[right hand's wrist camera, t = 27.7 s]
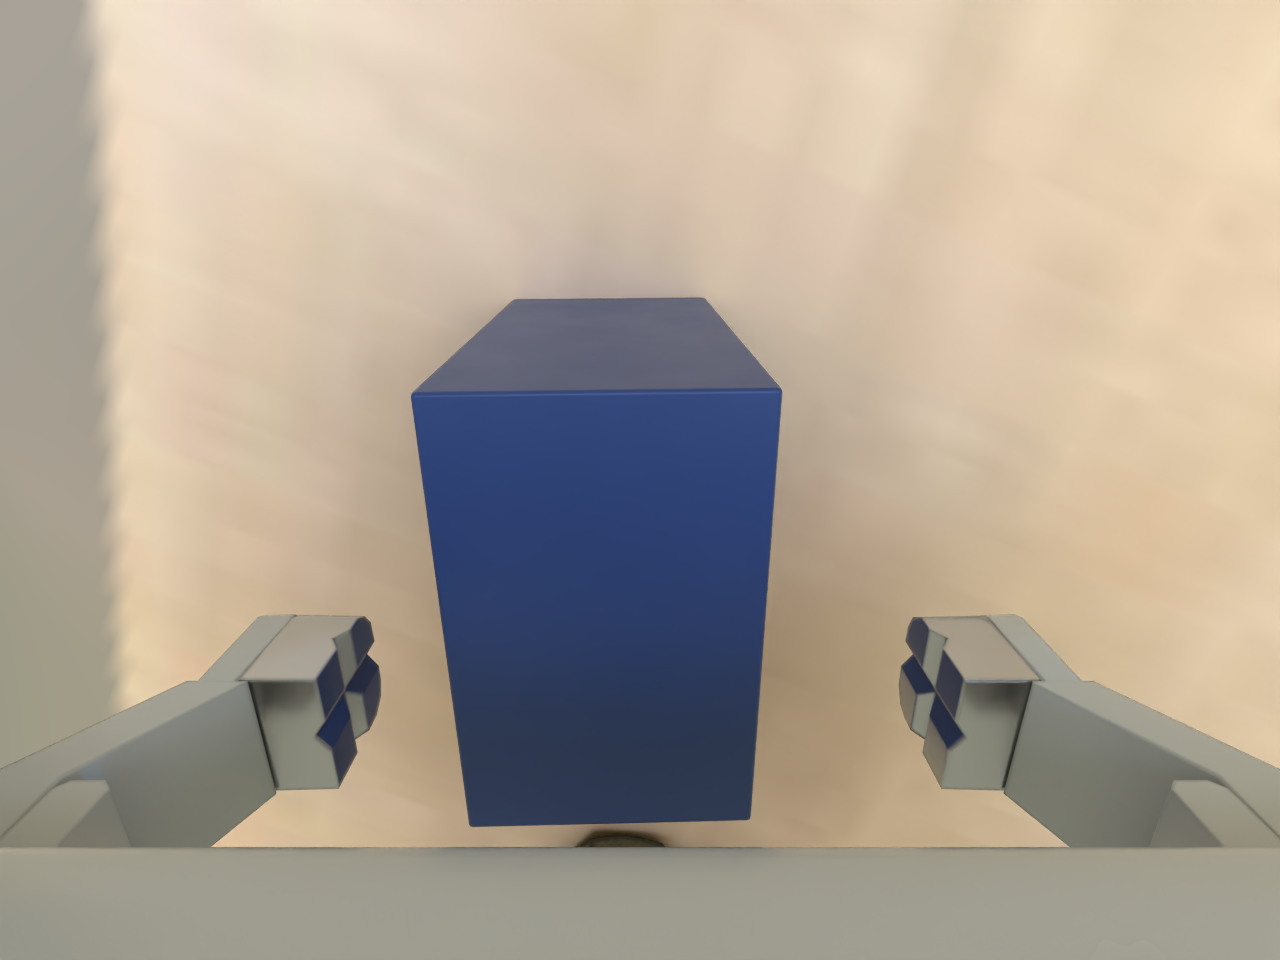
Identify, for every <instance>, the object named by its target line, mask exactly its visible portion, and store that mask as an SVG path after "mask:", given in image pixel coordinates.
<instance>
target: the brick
mask: <svg viewBox="0 0 1280 960" xmlns="http://www.w3.org/2000/svg"><path fill="white" fill-rule="evenodd" d="M411 401H412V408H413V415H414V423H415V430H416V437H417V445H418V452H419V459H420V467H421V474H422V481H423V489H424V496H425V503H426V511H427V518H428V525H429V533H430V540H431V547H432V555H433V562H434V569H435V577H436V584H437V591H438V599H439V606H440V613H441V621H442V628H443V635H444V643H445V650H446V657H447V665H448V672H449V679H450V687H451V694H452V701H453V709H454V716H455V723H456V731H457V738H458V745H459V753H460V760H461V767H462V775H463V782H464V789H465V797H466V804H467V811H468V819H469V825H470V826H471V827H489V826H530V825H570V824H610V823H651V822H691V821H731V820H749V819H750V816H751V804H752V790H753V777H754V763H755V750H756V737H757V723H758V710H759V696H760V683H761V669H762V656H763V643H764V629H765V616H766V602H767V589H768V576H769V562H770V549H771V535H772V522H773V508H774V495H775V482H776V468H777V455H778V441H779V428H780V415H781V401H782V390H781V388H780V387H779V386H778V385H777V383H776V382H775V381H774V380H773V379H772V377H771V376H770V375H769V374H768V373H767V372H766V370H765V369H764V368H763V367H762V366H761V364H760V363H759V362H758V361H757V360H756V359H755V357H754V356H753V355H752V354H751V353H750V351H749V350H748V349H747V348H746V347H745V345H744V344H743V343H742V342H741V341H740V340H739V338H738V337H737V336H736V335H735V334H734V332H733V331H732V330H731V329H730V328H729V327H728V325H727V324H726V323H725V322H724V321H723V319H722V318H721V317H720V316H719V315H718V314H717V312H716V311H715V310H714V309H713V308H712V306H711V305H710V304H709V303H708V302H707V300H706V299H705V298H627V299H519V300H513V301H512V302H511V303H510V304H509V305H508V306H506V307H505V308H504V309H503V310H502V311H501V312H500V313H499V314H498V315H497V316H496V317H494V318H493V319H492V320H491V321H490V322H489V323H488V324H487V325H486V326H485V327H484V328H482V329H481V330H480V331H479V332H478V333H477V334H476V335H475V336H474V337H473V338H472V339H470V340H469V341H468V342H467V343H466V344H465V345H464V346H463V347H462V348H461V349H460V350H458V351H457V352H456V353H455V354H454V355H453V356H452V357H451V358H450V359H449V360H448V361H446V362H445V363H444V364H443V365H442V366H441V367H440V368H439V369H438V370H437V371H436V372H434V373H433V374H432V375H431V376H430V377H429V378H428V379H427V380H426V381H425V382H424V383H422V384H421V385H420V386H419V387H418V388H417V389H416V390H415V391H414V392H413V393H412V395H411Z"/></svg>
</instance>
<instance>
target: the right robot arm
mask: <svg viewBox="0 0 1280 960" xmlns="http://www.w3.org/2000/svg"><path fill="white" fill-rule="evenodd" d="M373 643H374V637H373V632H372V627H371V622H370V621H369V620H368V619H367V618H366V617H365V616H325V615H299V616H298V615H265V616H261V617H258V618H257V619H256V620H255V621H254V622H253V623H252V624H251V625H250V626H249V627H248V629H247V630H246V631H245V632H244V633H243V634H242V635H241V636H240V637H239V638H238V639H237V640H236V641H235V642H234V643H233V644H232V645H231V647H230V648H229V649H228V650H227V651H226V652H225V653H224V654H223V655H222V656H221V657H220V658H219V659H218V660H217V661H216V662H215V663H214V665H213V666H212V667H211V668H210V669H209V670H208V671H207V672H206V673H205V674H204V675H203V676H202V677H201V678H200V679H199V680H198V681H186V682H184V683H182V684H180V685H177V686H175V687H173V688H171V689H169V690H167V691H165V692H163V693H160V694H158V695H156V696H154V697H152V698H150V699H148V700H146V701H143V702H141V703H139V704H137V705H135V706H133V707H131V708H129V709H126V710H124V711H122V712H120V713H118V714H116V715H114V716H112V717H109V718H107V719H105V720H103V721H101V722H99V723H97V724H95V725H92V726H90V727H88V728H86V729H84V730H82V731H80V732H78V733H75V734H73V735H71V736H69V737H67V738H65V739H63V740H61V741H58V742H56V743H54V744H52V745H50V746H48V747H46V748H44V749H42V750H39V751H37V752H35V753H33V754H31V755H29V756H27V757H24V758H22V759H20V760H18V761H16V762H14V763H12V764H10V765H7V766H5V767H3V768H1V769H0V960H1280V769H1278V768H1276V767H1274V766H1272V765H1270V764H1268V763H1266V762H1264V761H1261V760H1259V759H1257V758H1255V757H1253V756H1251V755H1249V754H1247V753H1245V752H1242V751H1240V750H1238V749H1236V748H1234V747H1232V746H1230V745H1228V744H1225V743H1223V742H1221V741H1219V740H1217V739H1215V738H1213V737H1211V736H1208V735H1206V734H1204V733H1202V732H1200V731H1198V730H1196V729H1194V728H1192V727H1189V726H1187V725H1185V724H1183V723H1181V722H1179V721H1177V720H1175V719H1172V718H1170V717H1168V716H1166V715H1164V714H1162V713H1160V712H1158V711H1156V710H1153V709H1151V708H1149V707H1147V706H1145V705H1143V704H1141V703H1139V702H1136V701H1134V700H1132V699H1130V698H1128V697H1126V696H1124V695H1122V694H1120V693H1117V692H1115V691H1113V690H1111V689H1109V688H1107V687H1105V686H1103V685H1100V684H1098V683H1096V682H1094V681H1082V680H1081V679H1080V678H1079V677H1078V676H1077V675H1076V674H1075V673H1074V672H1073V671H1072V670H1071V669H1070V668H1069V667H1068V666H1067V664H1066V663H1065V662H1064V661H1063V660H1062V659H1061V658H1060V657H1059V656H1058V655H1057V654H1056V653H1055V652H1054V651H1053V650H1052V649H1051V647H1050V646H1049V645H1048V644H1047V643H1046V642H1045V641H1044V640H1043V639H1042V638H1041V637H1040V636H1039V635H1038V634H1037V633H1036V632H1035V630H1034V629H1033V628H1032V627H1031V626H1030V625H1029V624H1028V623H1027V622H1026V621H1025V620H1024V619H1023V618H1021V617H1019V616H1017V615H1014V614H1009V615H981V616H953V617H913V618H912V620H911V622H910V624H909V626H908V631H907V636H906V643H907V644H908V646H909V648H910V649H911V651H912V653H913V655H912V656H911V657H910V658H909V659H908V660H907V661H906V662H905V663H904V664H903V665H902V666H901V672H900V680H899V693H900V704H901V707H902V711H903V714H904V717H905V719H906V721H907V723H908V725H909V727H910V729H911V730H912V731H913V732H915V733H916V734H918V735H919V736H921V737H922V738H923V739H925V742H924V747H923V752H922V753H923V754H924V756H925V758H926V760H927V762H928V764H929V766H930V768H931V770H932V772H933V773H934V775H935V777H936V779H937V781H938V783H939V785H940V787H941V789H972V790H1004V794H1005V795H1006V796H1008V797H1009V798H1010V799H1011V800H1013V801H1014V802H1015V803H1016V804H1017V805H1019V806H1020V807H1021V808H1022V809H1024V810H1025V811H1026V812H1027V813H1029V814H1030V815H1031V816H1032V817H1033V818H1035V819H1036V820H1037V821H1038V822H1040V823H1041V824H1042V825H1043V826H1045V827H1046V828H1047V829H1048V830H1050V831H1051V832H1052V833H1053V834H1054V835H1056V836H1057V837H1058V838H1059V839H1061V840H1062V841H1063V842H1064V843H1066V844H1067V845H1068V846H1069V847H211V846H212V845H213V844H215V843H216V842H217V841H218V840H220V839H221V838H222V837H223V836H225V835H226V834H227V833H228V832H230V831H231V830H232V829H233V828H234V827H236V826H237V825H238V824H239V823H241V822H242V821H243V820H244V819H246V818H247V817H248V816H249V815H250V814H252V813H253V812H254V811H255V810H257V809H258V808H259V807H260V806H262V805H263V804H264V803H265V802H267V801H268V800H269V799H270V798H271V797H273V796H274V795H275V794H276V790H307V789H339V787H340V785H341V783H342V781H343V779H344V777H345V775H346V774H347V772H348V770H349V768H350V766H351V764H352V762H353V760H354V758H355V756H356V755H357V753H358V752H357V747H356V741H355V739H357V738H358V737H359V736H361V735H362V734H364V733H365V732H367V731H368V730H369V729H370V727H371V725H372V723H373V721H374V719H375V717H376V715H377V711H378V706H379V702H380V697H381V678H380V671H379V666H378V665H377V664H376V663H375V662H374V661H373V660H372V659H371V658H370V657H369V656H368V655H367V653H368V651H369V649H370V648H371V646H372V644H373Z"/></svg>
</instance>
